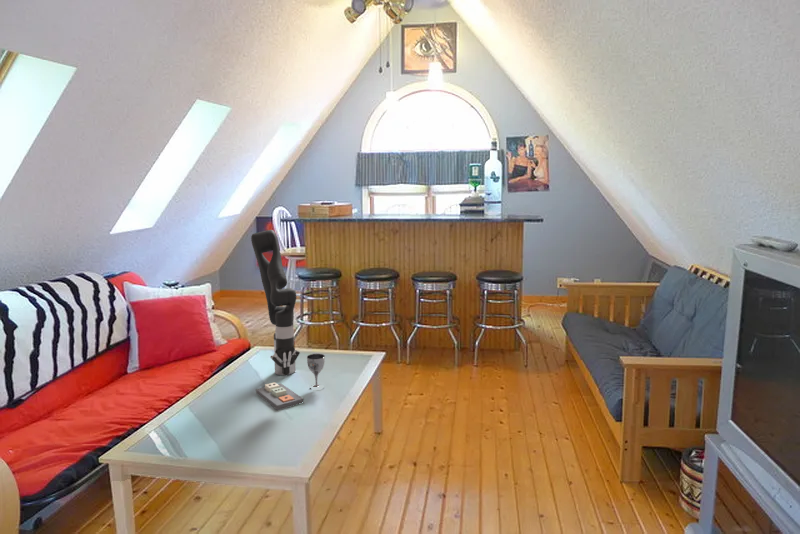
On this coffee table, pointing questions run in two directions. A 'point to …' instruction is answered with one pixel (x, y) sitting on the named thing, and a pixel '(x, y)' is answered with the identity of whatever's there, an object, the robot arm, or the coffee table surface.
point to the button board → (275, 400)
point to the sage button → (279, 392)
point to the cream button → (271, 386)
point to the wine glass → (316, 364)
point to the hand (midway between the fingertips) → (285, 374)
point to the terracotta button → (286, 398)
